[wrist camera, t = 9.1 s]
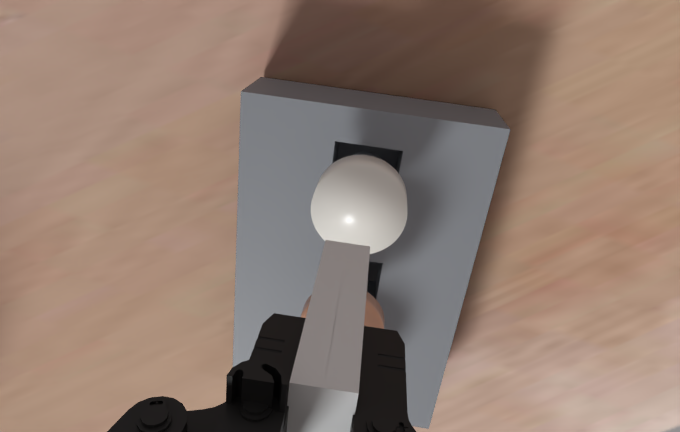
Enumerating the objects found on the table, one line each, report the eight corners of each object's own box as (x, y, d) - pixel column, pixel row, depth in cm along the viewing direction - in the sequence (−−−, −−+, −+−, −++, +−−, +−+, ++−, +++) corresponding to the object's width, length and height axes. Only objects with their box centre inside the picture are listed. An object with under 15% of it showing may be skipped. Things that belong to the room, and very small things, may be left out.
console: (248, 354, 36) (231, 395, 33) (261, 77, 28) (240, 91, 24) (425, 383, 36) (428, 428, 32) (495, 109, 27) (510, 129, 24)
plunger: (321, 201, 27) (306, 247, 23) (330, 126, 25) (315, 160, 21) (398, 212, 27) (398, 261, 22) (412, 138, 25) (415, 174, 21)
